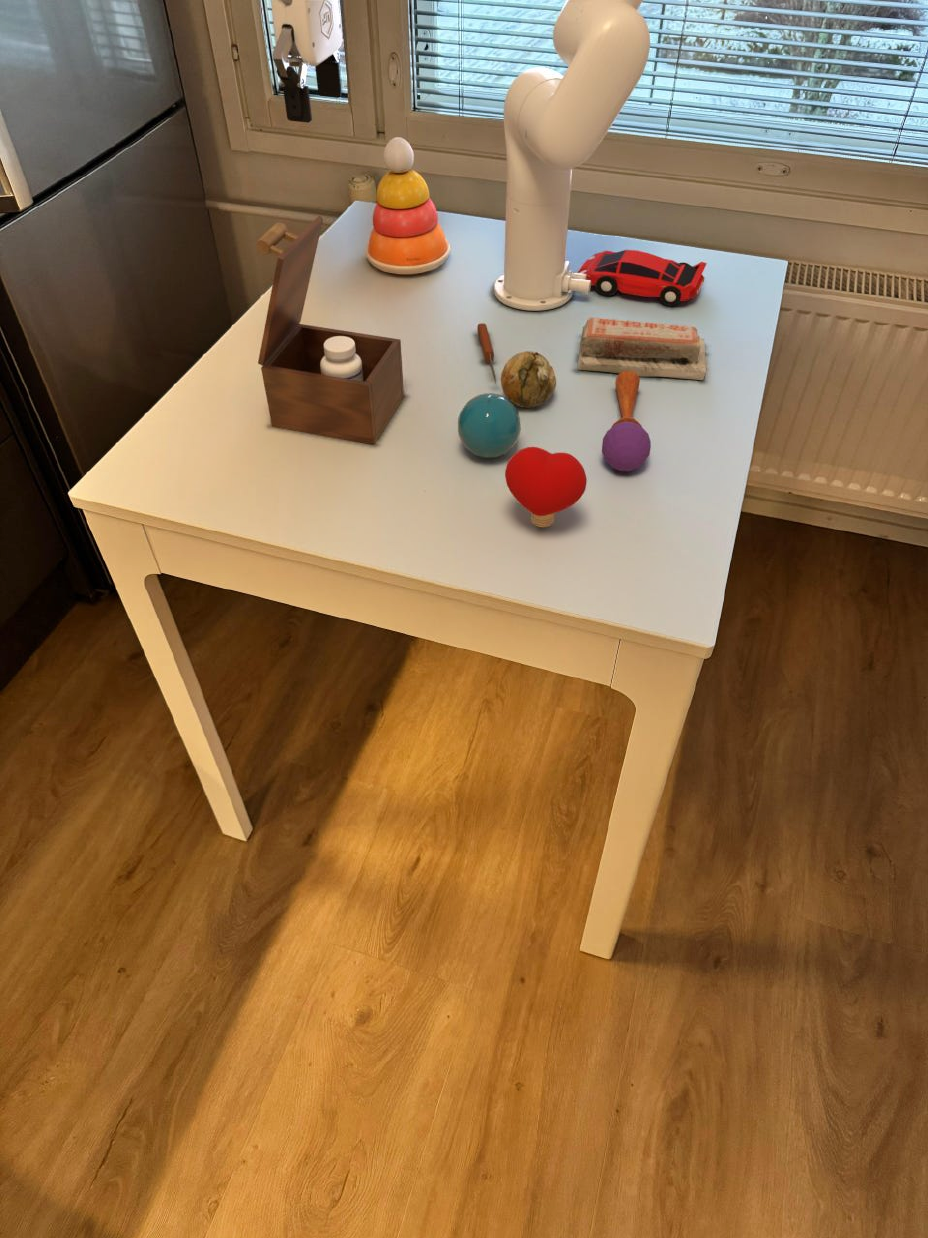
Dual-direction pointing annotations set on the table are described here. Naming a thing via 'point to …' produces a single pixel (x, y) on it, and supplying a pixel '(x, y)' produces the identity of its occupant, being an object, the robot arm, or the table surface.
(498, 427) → the ball
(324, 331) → the chest
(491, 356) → the brown screwdriver
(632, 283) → the toy car
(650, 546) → the table surface
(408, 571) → the table surface
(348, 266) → the table surface
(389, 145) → the stacking toy
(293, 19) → the robot arm
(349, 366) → the pill bottle
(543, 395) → the cracked brown sphere
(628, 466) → the purple maraca
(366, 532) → the table surface
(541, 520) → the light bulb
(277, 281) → the lid
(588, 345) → the packaged product
